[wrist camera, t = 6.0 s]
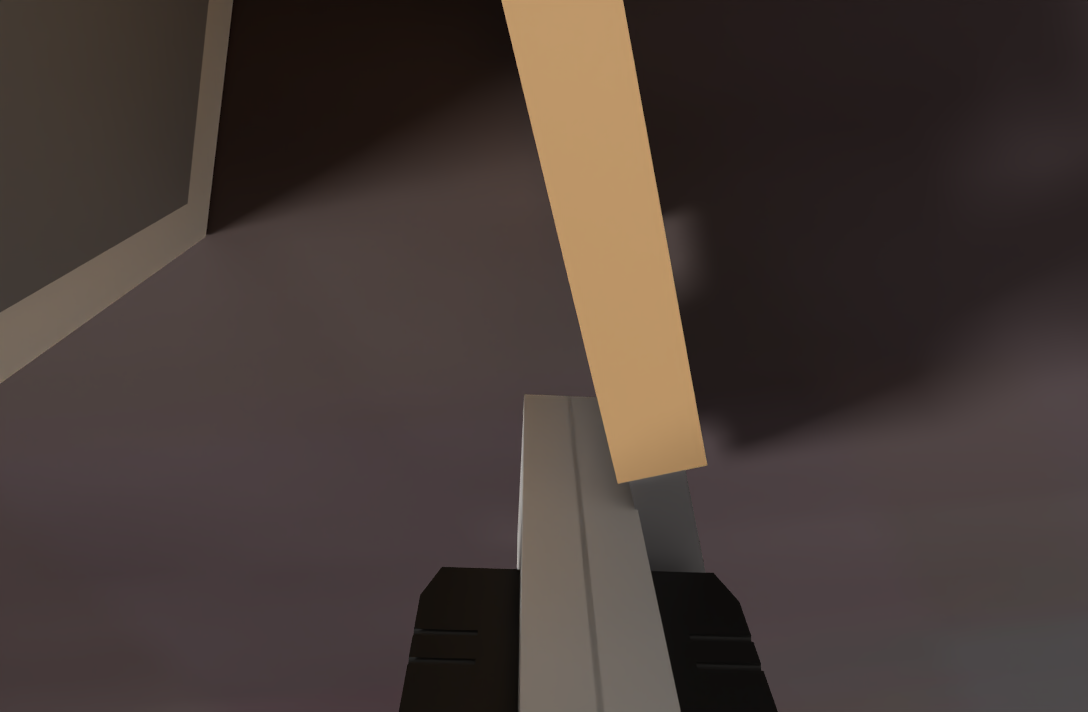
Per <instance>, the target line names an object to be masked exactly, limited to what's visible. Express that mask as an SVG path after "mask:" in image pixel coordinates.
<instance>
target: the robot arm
mask: <svg viewBox="0 0 1088 712" xmlns="http://www.w3.org/2000/svg"><path fill="white" fill-rule="evenodd" d="M399 712H778V711H777V708H776V706H775V703H774V700H773V697H772V694H771V691H770V688H769V686H768V683H767V680H766V677H765V674H764V671H761V663H760V660H759V657H758V654H757V651H756V648H755V646H754V643H753V642H751V634H750V631H749V628H748V625H747V623H746V620H745V617H744V614H743V611H742V608H741V605H740V603H739V601H738V600H737V599H736V598H735V597H734V595H733V594H732V593H731V592H730V591H729V590H728V589H727V588H726V587H725V585H724V584H723V583H722V582H721V581H720V580H719V579H718V578H717V576H716V575H715V574H714V573H699V572H667V571H651V570H650V565H649V560H648V556H647V551H646V546H645V542H644V537H643V532H642V528H641V523H640V518H639V514H638V510H636V509H635V507H634V503H633V498H632V494H631V490H630V486H629V482H624V483H619V484H618V483H617V479H616V474H615V470H614V466H613V462H612V458H611V454H610V450H609V445H608V441H607V437H606V433H605V429H604V425H603V420H602V416H601V412H600V408H599V404H598V400H597V397H578V396H554V395H529V394H524V411H523V432H522V453H521V474H520V495H519V516H518V542H517V569H489V568H456V567H442V568H441V569H440V570H439V572H438V573H437V574H436V575H435V577H434V578H433V579H432V581H431V582H430V583H429V585H428V586H427V587H426V588H425V590H424V591H423V592H422V594H421V595H420V600H419V605H418V611H417V616H416V622H415V627H414V635H413V638H412V643H411V649H410V654H409V663H408V665H407V670H406V676H405V681H404V687H403V692H402V698H401V703H400V708H399Z"/></svg>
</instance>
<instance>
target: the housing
mask: <svg viewBox="0 0 1088 712" xmlns="http://www.w3.org/2000/svg"><path fill="white" fill-rule="evenodd" d="M232 7H233V0H0V383H2V382H3V381H4V380H6V379H7V378H9V377H10V376H11V375H13V374H14V373H16V372H17V371H18V370H20V369H21V368H23V367H24V366H25V365H27V364H28V363H30V362H31V361H32V360H34V359H35V358H37V357H38V356H39V355H41V354H42V353H44V352H45V351H46V350H48V349H49V348H51V347H52V346H53V345H55V344H56V343H58V342H59V341H60V340H62V339H63V338H65V337H66V336H67V335H69V334H70V333H72V332H73V331H74V330H76V329H77V328H79V327H80V326H81V325H83V324H84V323H86V322H87V321H88V320H90V319H91V318H93V317H94V316H95V315H97V314H98V313H100V312H101V311H102V310H104V309H105V308H107V307H108V306H109V305H111V304H112V303H114V302H115V301H116V300H118V299H119V298H121V297H122V296H123V295H125V294H126V293H128V292H129V291H130V290H132V289H133V288H135V287H136V286H137V285H139V284H140V283H142V282H143V281H144V280H146V279H147V278H149V277H150V276H151V275H153V274H154V273H156V272H157V271H158V270H160V269H161V268H163V267H164V266H165V265H167V264H168V263H170V262H171V261H172V260H174V259H175V258H177V257H178V256H179V255H181V254H182V253H184V252H185V251H186V250H188V249H189V248H191V247H192V246H193V245H195V244H196V243H198V242H199V241H200V240H202V239H203V238H205V237H206V231H207V222H208V213H209V205H210V196H211V188H212V179H213V170H214V162H215V153H216V144H217V136H218V127H219V119H220V110H221V101H222V93H223V84H224V76H225V67H226V58H227V50H228V41H229V33H230V24H231V15H232Z"/></svg>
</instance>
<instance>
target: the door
mask: <svg viewBox="0 0 1088 712" xmlns="http://www.w3.org/2000/svg"><path fill="white" fill-rule="evenodd" d="M501 1H502V5H503V9H504V13H505V17H506V21H507V26H508V30H509V34H510V38H511V42H512V46H513V51H514V55H515V59H516V63H517V67H518V71H519V75H520V80H521V84H522V88H523V92H524V96H525V100H526V105H527V109H528V113H529V117H530V121H531V125H532V130H533V134H534V138H535V142H536V146H537V150H538V154H539V159H540V163H541V167H542V171H543V175H544V179H545V184H546V188H547V192H548V196H549V200H550V204H551V208H552V213H553V217H554V221H555V225H556V229H557V233H558V238H559V242H560V246H561V250H562V254H563V258H564V263H565V267H566V271H567V275H568V279H569V283H570V287H571V292H572V296H573V300H574V304H575V308H576V312H577V317H578V321H579V325H580V329H581V333H582V337H583V341H584V346H585V350H586V354H587V358H588V362H589V366H590V371H591V375H592V379H593V383H594V387H595V391H596V396H597V400H598V404H599V408H600V412H601V416H602V420H603V425H604V429H605V433H606V437H607V441H608V445H609V450H610V454H611V458H612V462H613V466H614V470H615V474H616V479H617V483H618V484H619V483H624V482H629V486H630V490H631V494H632V498H633V503H634V507H635V509H636V510H638V514H639V518H640V523H641V528H642V532H643V537H644V542H645V546H646V551H647V556H648V560H649V565H650V570H651V571H667V572H699V573H705V568H704V563H703V558H702V553H701V548H700V543H699V538H698V533H697V528H696V522H695V517H694V512H693V507H692V502H691V497H690V492H689V487H688V482H687V476H686V471H685V470H687V469H692V468H697V467H701V466H706V465H707V461H706V456H705V450H704V445H703V439H702V434H701V428H700V423H699V417H698V412H697V406H696V401H695V395H694V390H693V384H692V379H691V373H690V368H689V362H688V357H687V351H686V345H685V340H684V334H683V329H682V323H681V318H680V312H679V307H678V301H677V296H676V290H675V285H674V279H673V274H672V268H671V263H670V257H669V252H668V246H667V241H666V235H665V230H664V224H663V219H662V213H661V207H660V202H659V196H658V191H657V185H656V180H655V174H654V169H653V163H652V158H651V152H650V147H649V141H648V136H647V130H646V125H645V119H644V114H643V108H642V103H641V97H640V92H639V86H638V81H637V75H636V69H635V64H634V58H633V53H632V47H631V42H630V36H629V31H628V25H627V20H626V14H625V9H624V3H623V0H501Z"/></svg>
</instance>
